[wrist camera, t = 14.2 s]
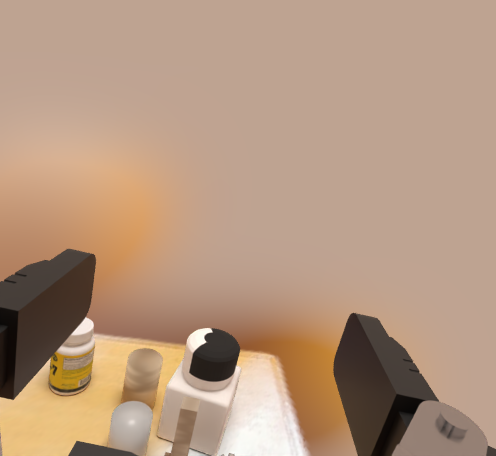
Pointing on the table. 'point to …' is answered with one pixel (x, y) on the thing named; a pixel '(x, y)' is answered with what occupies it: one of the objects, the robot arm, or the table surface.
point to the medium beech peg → (142, 376)
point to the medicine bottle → (203, 388)
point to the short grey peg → (130, 427)
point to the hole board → (184, 427)
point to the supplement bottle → (73, 361)
